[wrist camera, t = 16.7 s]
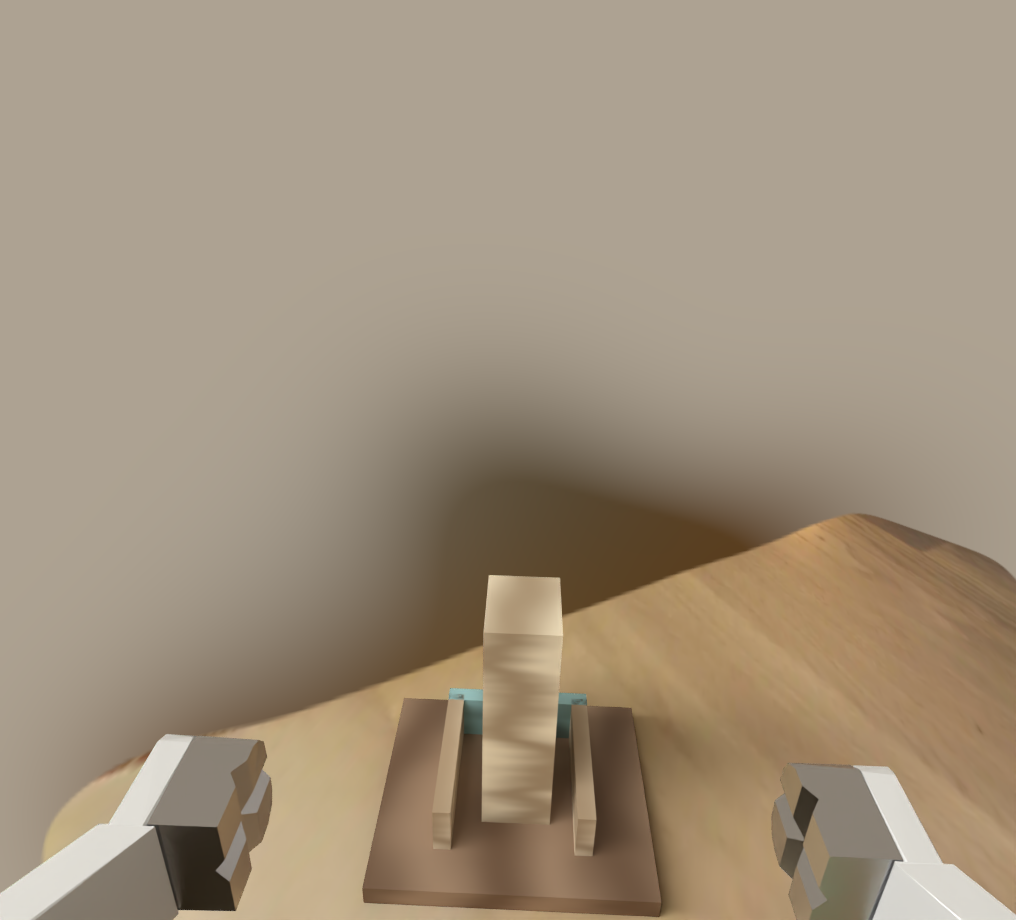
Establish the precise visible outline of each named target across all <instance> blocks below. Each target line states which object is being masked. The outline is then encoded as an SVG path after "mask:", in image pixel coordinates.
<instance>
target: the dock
mask: <svg viewBox="0 0 1016 920" xmlns="http://www.w3.org/2000/svg"><path fill="white" fill-rule="evenodd" d="M482 737H483V690H480V689H456V688H450V693H449V700H434V699H411V698H404V701H403V706H402V710H401V715H400V719H399V724H398V729H397V733H396V738H395V742H394V747H393V751H392V756H391V760H390V765H389V769H388V774H387V779H386V783H385V788H384V792H383V797H382V801H381V806H380V810H379V815H378V820H377V824H376V829H375V833H374V838H373V842H372V847H371V851H370V856H369V860H368V865H367V870H366V874H365V879H364V883H363V888H362V889H363V899H364V902H365V903H386V904H406V905H427V906H448V907H468V908H489V909H510V910H530V911H551V912H572V913H592V914H613V915H634V916H654V917H659V914H660V908H661V896H660V890H659V883H658V877H657V870H656V864H655V858H654V851H653V845H652V838H651V832H650V825H649V819H648V812H647V806H646V800H645V793H644V787H643V780H642V774H641V767H640V761H639V755H638V748H637V742H636V735H635V729H634V722H633V716H632V709H631V708H622V707H598V706H587V700H586V694H574V693H559V698H558V713H557V727H556V741H555V755H554V770H553V784H552V798H551V812H550V825H543V824H521V823H498V822H482Z"/></svg>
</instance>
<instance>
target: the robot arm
mask: <svg viewBox="0 0 1016 920" xmlns="http://www.w3.org/2000/svg"><path fill="white" fill-rule="evenodd" d="M266 758H267V754H266V750H265V745H264V742H263V741H260V740H250V739H236V738H222V737H208V736H187V735H173V734H166V735H165V736H164V737H163V738H161V739H160V740H159V741H158V742H157V743H156V745H155V747H154V748H153V750H152V752H151V753H150V755H149V757H148V758H147V760H146V762H145V763H144V765H143V767H142V768H141V770H140V772H139V773H138V775H137V777H136V779H135V780H134V782H133V784H132V785H131V787H130V789H129V790H128V792H127V794H126V795H125V797H124V799H123V800H122V802H121V804H120V805H119V807H118V809H117V810H116V812H115V814H114V815H113V817H112V819H111V820H110V822H109V824H98V825H96V826H95V827H93V828H92V829H91V830H89V831H88V832H86V833H85V834H84V835H82V836H81V837H79V838H78V839H76V840H75V841H74V842H72V843H71V844H69V845H68V846H67V847H65V848H64V849H62V850H61V851H59V852H58V853H57V854H55V855H54V856H52V857H51V858H50V859H48V860H47V861H45V862H44V863H42V864H41V865H40V866H38V867H37V868H35V869H34V870H33V871H31V872H30V873H28V874H27V875H25V876H24V877H23V878H21V879H20V880H18V881H17V882H16V883H14V884H13V885H11V886H10V887H8V888H7V889H6V890H4V891H3V892H1V893H0V920H173V919H174V918H175V917H176V916H177V915H178V910H205V911H236V909H237V906H238V904H239V901H240V898H241V896H242V893H243V891H244V888H245V885H246V883H247V880H248V877H249V875H250V872H251V869H252V867H251V862H250V856H249V852H250V851H251V850H252V849H254V848H255V847H256V846H257V845H258V844H259V843H261V842H262V840H263V837H264V834H265V831H266V828H267V825H268V821H269V816H270V811H271V806H272V785H271V778H270V777H269V776H268V775H267V774H266V773H265V772H264V771H263V770H262V768H263V766H264V763H265V761H266ZM780 781H781V784H782V787H783V790H784V792H785V793H784V794H783V795H781V796H780V797H779V798H778V799H776V800H775V802H774V807H773V812H772V838H773V844H774V849H775V853H776V856H777V860H778V863H779V866H780V867H781V868H782V869H783V870H784V871H785V872H786V873H787V874H788V875H789V876H790V877H791V878H792V879H793V880H792V884H791V888H790V891H789V898H790V901H791V904H792V907H793V910H794V913H795V916H796V920H1016V915H1015V914H1014V913H1013V912H1012V911H1011V910H1009V909H1008V908H1007V907H1006V906H1004V905H1003V904H1002V903H1001V902H999V901H998V900H997V899H996V898H994V897H993V896H992V895H991V894H989V893H988V892H987V891H986V890H985V889H983V888H982V887H981V886H980V885H978V884H977V883H976V882H975V881H973V880H972V879H971V878H970V877H968V876H967V875H966V874H965V873H963V872H962V871H961V870H960V869H959V868H957V867H956V866H955V865H954V864H943V862H942V861H941V859H940V857H939V855H938V853H937V851H936V849H935V848H934V846H933V844H932V842H931V840H930V838H929V836H928V835H927V833H926V831H925V829H924V827H923V825H922V824H921V822H920V820H919V818H918V816H917V814H916V812H915V811H914V809H913V807H912V805H911V803H910V801H909V799H908V798H907V796H906V794H905V792H904V790H903V788H902V787H901V785H900V783H899V781H898V779H897V777H896V775H895V774H894V772H893V771H892V770H891V769H889V768H888V767H880V766H851V765H836V764H805V763H788V764H787V765H786V766H785V767H784V769H783V772H782V776H781V779H780Z"/></svg>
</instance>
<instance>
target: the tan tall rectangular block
mask: <svg viewBox="0 0 1016 920" xmlns="http://www.w3.org/2000/svg"><path fill="white" fill-rule="evenodd" d="M562 642H563V628H562V610H561V591H560V578H548V577H547V578H546V577H521V576H519V577H518V576H496V575H493V576H492V575H489V581H488V592H487V602H486V613H485V624H484V644H483V737H482V822H498V823H521V824H543V825H550V812H551V798H552V784H553V770H554V755H555V741H556V727H557V713H558V698H559V684H560V670H561V656H562Z"/></svg>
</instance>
